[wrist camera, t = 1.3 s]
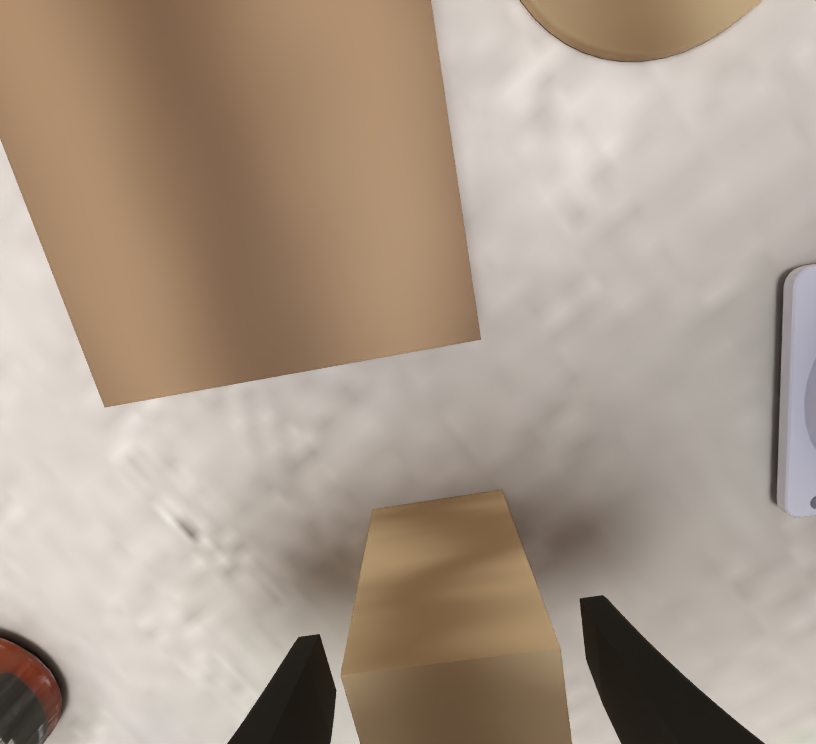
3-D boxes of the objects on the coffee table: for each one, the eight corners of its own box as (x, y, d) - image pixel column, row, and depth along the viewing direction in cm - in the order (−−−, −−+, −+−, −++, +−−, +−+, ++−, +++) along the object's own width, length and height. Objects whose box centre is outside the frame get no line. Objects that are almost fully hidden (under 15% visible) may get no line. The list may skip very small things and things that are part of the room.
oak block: (501, 489, 14) (560, 648, 8) (517, 597, 15) (579, 807, 9) (372, 509, 14) (340, 675, 8) (397, 613, 15) (383, 825, 9)
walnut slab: (408, -55, 11) (404, -177, 8) (467, 323, 13) (481, 339, 10) (55, 35, 11) (-72, -45, 8) (171, 377, 14) (104, 407, 11)
